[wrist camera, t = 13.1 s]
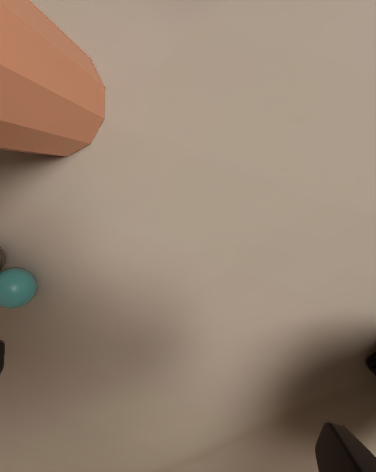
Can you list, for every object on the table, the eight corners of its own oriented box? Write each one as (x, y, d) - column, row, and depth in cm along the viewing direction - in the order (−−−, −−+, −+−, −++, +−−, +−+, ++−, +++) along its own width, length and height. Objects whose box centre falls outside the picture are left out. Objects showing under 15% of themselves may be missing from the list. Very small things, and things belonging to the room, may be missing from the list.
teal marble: (52, 280, 22) (26, 296, 19) (32, 304, 22) (4, 323, 19) (23, 255, 21) (-8, 267, 18) (3, 280, 22) (-29, 296, 19)
